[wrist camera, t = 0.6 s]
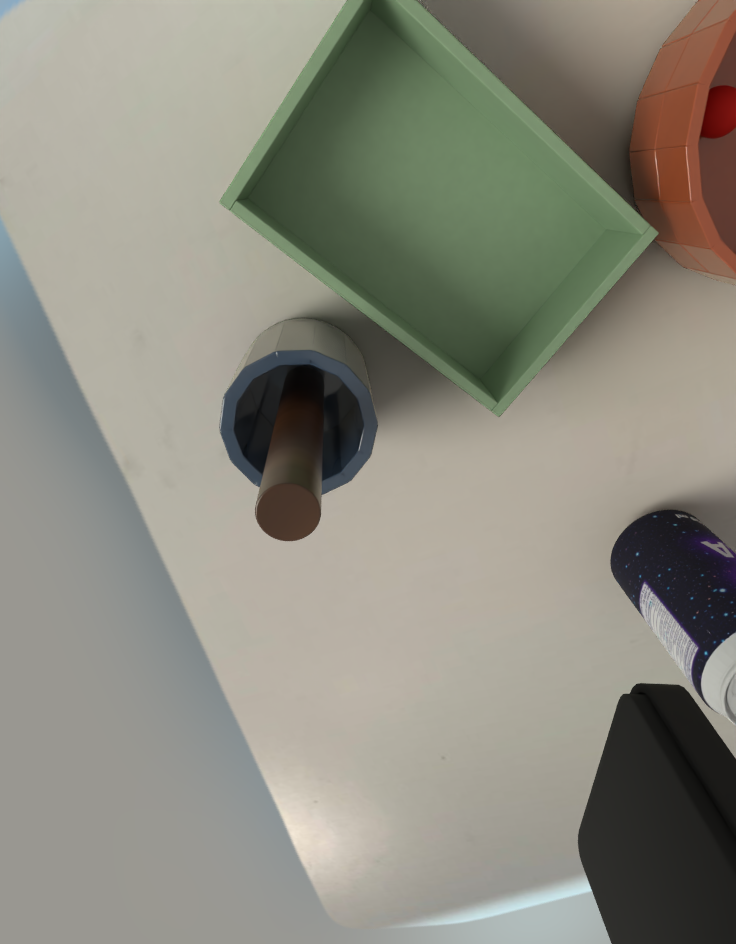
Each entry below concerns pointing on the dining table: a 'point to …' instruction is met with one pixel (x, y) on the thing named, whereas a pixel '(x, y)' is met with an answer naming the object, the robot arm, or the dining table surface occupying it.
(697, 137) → the bowl
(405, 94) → the tray
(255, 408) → the holder
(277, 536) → the stick
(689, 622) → the beverage can
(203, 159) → the dining table surface
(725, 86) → the berry
